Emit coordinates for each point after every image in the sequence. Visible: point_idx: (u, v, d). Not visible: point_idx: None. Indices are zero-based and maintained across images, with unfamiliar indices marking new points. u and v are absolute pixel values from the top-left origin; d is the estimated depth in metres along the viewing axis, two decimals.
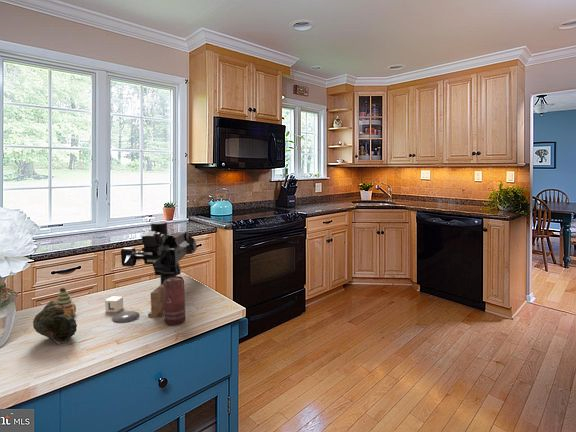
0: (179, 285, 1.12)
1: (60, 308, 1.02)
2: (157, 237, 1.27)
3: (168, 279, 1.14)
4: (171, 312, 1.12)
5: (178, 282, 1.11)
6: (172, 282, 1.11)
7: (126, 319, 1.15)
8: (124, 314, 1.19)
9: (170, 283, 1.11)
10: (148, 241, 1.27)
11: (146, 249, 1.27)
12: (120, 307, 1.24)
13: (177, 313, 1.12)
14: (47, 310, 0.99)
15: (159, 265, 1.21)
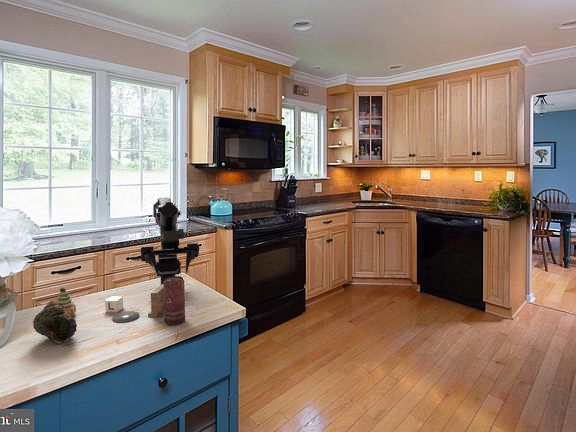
0: (179, 285, 1.12)
1: (60, 308, 1.02)
2: (179, 237, 1.22)
3: (168, 279, 1.14)
4: (171, 312, 1.12)
5: (178, 282, 1.11)
6: (172, 282, 1.11)
7: (126, 319, 1.15)
8: (124, 314, 1.19)
9: (170, 283, 1.11)
10: (169, 240, 1.22)
11: (166, 245, 1.24)
12: (120, 307, 1.24)
13: (177, 313, 1.12)
14: (47, 310, 0.99)
15: None
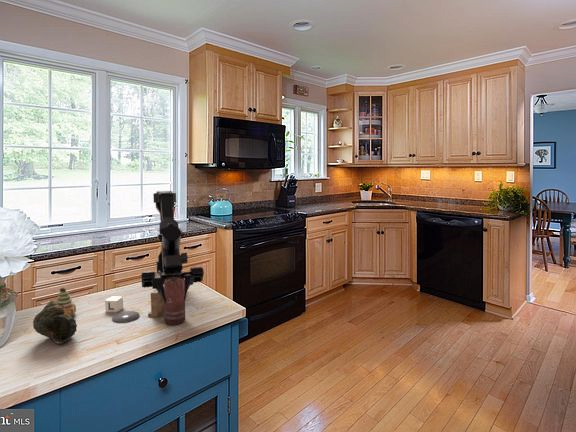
0: (180, 285, 1.12)
1: (60, 308, 1.02)
2: (182, 262, 1.14)
3: (169, 279, 1.14)
4: (172, 311, 1.12)
5: (179, 282, 1.12)
6: (173, 282, 1.11)
7: (126, 319, 1.15)
8: (124, 314, 1.19)
9: (171, 283, 1.11)
10: (171, 266, 1.14)
11: (168, 270, 1.16)
12: (120, 307, 1.24)
13: (177, 313, 1.12)
14: (47, 310, 0.99)
15: None
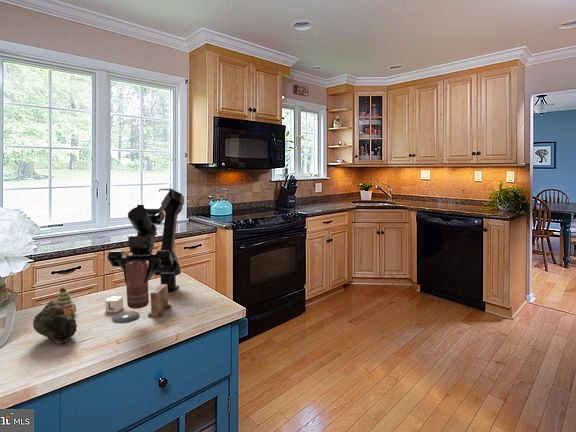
0: (138, 269, 1.09)
1: (60, 308, 1.02)
2: (145, 243, 1.12)
3: (131, 262, 1.12)
4: (131, 295, 1.10)
5: (137, 266, 1.09)
6: (131, 265, 1.09)
7: (126, 319, 1.15)
8: (124, 314, 1.19)
9: (129, 266, 1.09)
10: (135, 247, 1.12)
11: (135, 251, 1.15)
12: (120, 307, 1.25)
13: (136, 297, 1.10)
14: (47, 310, 0.99)
15: (151, 276, 1.14)
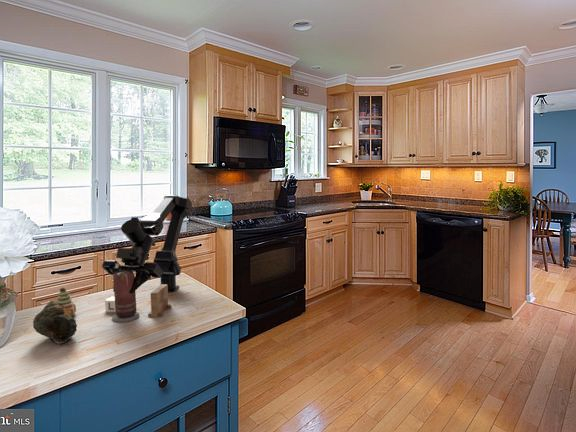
0: (123, 280, 1.14)
1: (60, 308, 1.02)
2: (132, 255, 1.16)
3: (120, 272, 1.17)
4: (117, 304, 1.15)
5: (122, 277, 1.14)
6: (116, 276, 1.14)
7: (126, 319, 1.15)
8: None
9: (115, 277, 1.14)
10: (124, 258, 1.17)
11: (126, 262, 1.20)
12: None
13: (121, 307, 1.15)
14: (47, 310, 0.99)
15: (137, 287, 1.18)
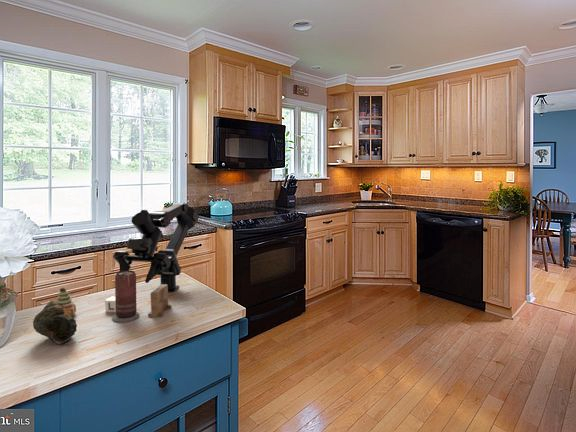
0: (124, 280, 1.15)
1: (60, 308, 1.02)
2: (142, 246, 1.21)
3: (122, 272, 1.18)
4: (117, 304, 1.16)
5: (124, 276, 1.15)
6: (118, 275, 1.15)
7: (126, 319, 1.15)
8: None
9: (117, 276, 1.15)
10: (135, 248, 1.23)
11: (136, 252, 1.25)
12: None
13: (121, 307, 1.15)
14: (47, 310, 0.99)
15: (152, 276, 1.23)
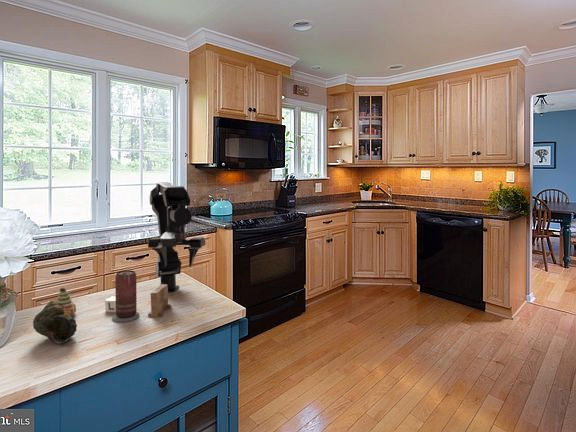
0: (125, 279, 1.15)
1: (60, 308, 1.02)
2: (176, 242, 1.21)
3: (122, 272, 1.18)
4: (117, 304, 1.16)
5: (124, 276, 1.15)
6: (119, 275, 1.15)
7: (126, 319, 1.15)
8: None
9: (117, 276, 1.15)
10: None
11: None
12: None
13: (121, 306, 1.15)
14: (47, 310, 0.99)
15: None
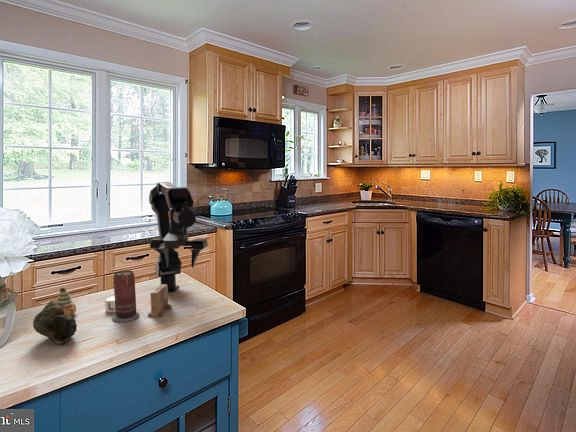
0: (123, 280, 1.14)
1: (60, 308, 1.02)
2: None
3: (120, 273, 1.18)
4: (117, 304, 1.16)
5: (122, 277, 1.14)
6: (116, 276, 1.14)
7: (126, 319, 1.15)
8: None
9: (115, 277, 1.15)
10: None
11: None
12: None
13: (121, 307, 1.15)
14: (47, 310, 0.99)
15: None
